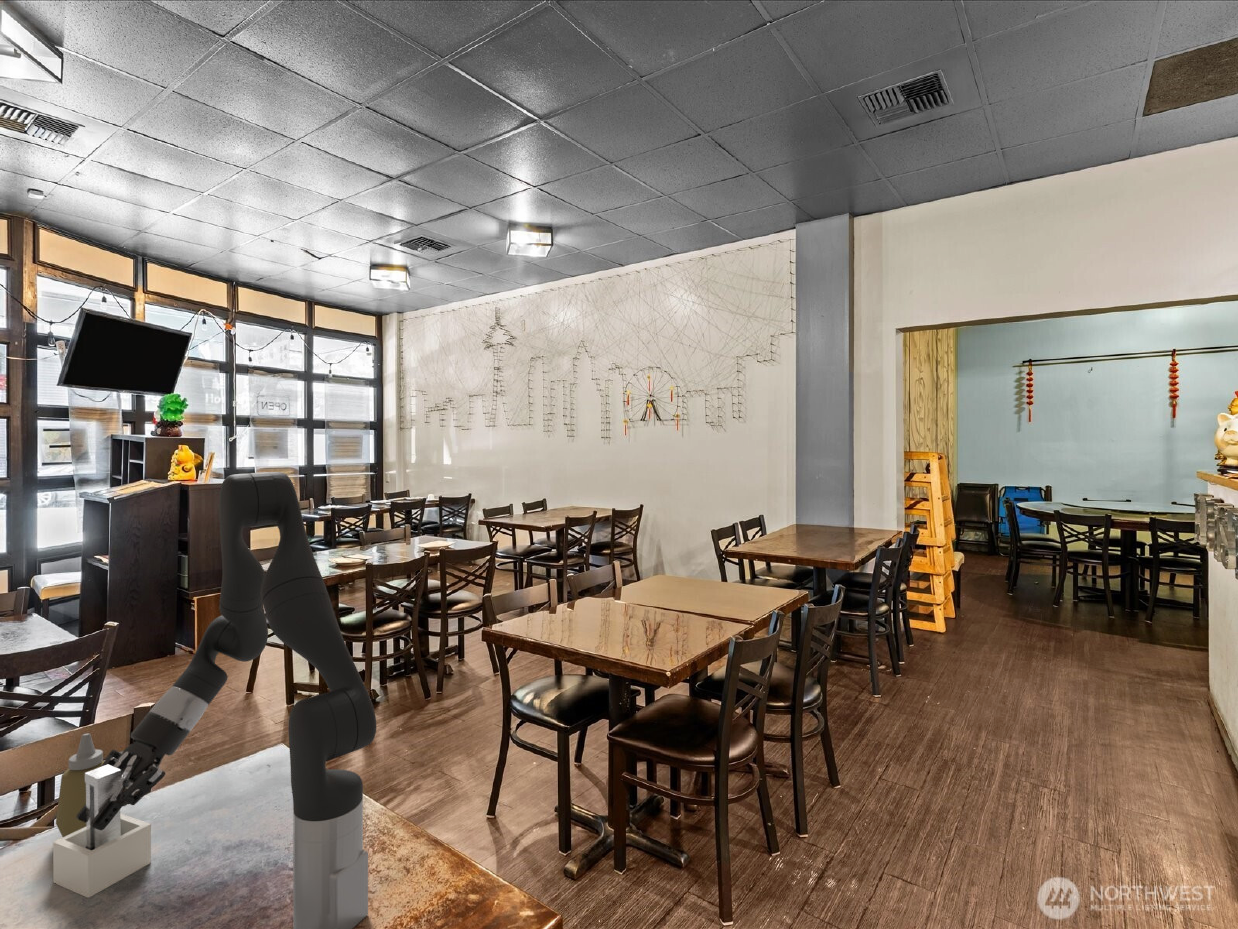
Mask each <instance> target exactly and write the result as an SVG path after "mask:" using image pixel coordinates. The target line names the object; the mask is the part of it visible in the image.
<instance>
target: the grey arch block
mask: <svg viewBox="0 0 1238 929" xmlns="http://www.w3.org/2000/svg"><path fill="white" fill-rule="evenodd" d="M120 779H121V770H120V769H118V768H116V767H113V766H111V765H109V764H107V765H105V766H102V767H99V768H97V769H94V770H91V771H89V772H86V773H85V783H86V820H87V823H86V834H87V846H86V849H89V850H94V849H96V848H98V847H100V846H102V845H104V844H106V843H108V842H110V841H112V840H114V839H116V838H118V837H119V836H121V820H120V813H121V809H120V810H119V811H118V813H117V814H116V815H115V816H114V817H113V819H112V820H111V822H110V823H109V824H108V825H107V826H106V827H105V829H103V830H98V829H95V828H93V827H91V826H90V823H91V822H92V820H93V819H94V818H95V817H96V815H97V814H98V813H99V812H100V811H101V809H102V808H103V807H104V806H105V804H106V803H107V802H108V801H110V799H111V797H112V795H113V794H114V792H115V791H116V789H117V788H118V787H119V785H118V783H119V781H120ZM110 802H111V801H110Z"/></svg>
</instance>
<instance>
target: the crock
mask: <svg viewBox="0 0 1238 929" xmlns="http://www.w3.org/2000/svg"><path fill="white" fill-rule="evenodd" d="M120 820H121V836H119V837H118V838H116V839H114V840H112V841H110V842H108V843H106V844H104V845H102V846H100V847H98V848H96V849H94V850H89V849H86V846H87V834H86V827H84V828H82V829H80V830H78V831H76V832H73V833H71V834H69V835H67V836H65V837H62V838H59V839H56V840H54V841H53V842H52V843H53V844H52V847H53V848H52V850H53V852H52V853H53V854H52V855H53V858H52V859H53V862H52V863H53V864H52V865H53V866H52V867H53V869H52V870H53V876H52V877H53V883H54V884H55V883H56V884H55V885H58V886H60V887H62V888H64V889H67V890H69V891H71V892H74V893H76V894H78V895H81V896H83V897H85V898H88V899H89V898H91V897H92V896H95V895H96V894H98V893H100V892H101V891H103V890H105V889H107V888H109V887H111V886H113V885H114V884H116V883H118V882H119V881H121V880H123V879H125V878H126V877H128V876H130V875H132V874H134V873H135V872H137V871H139V870H141V869H143V868H144V867H146V866H147V865H149V864H151V863H152V824H151V823H149V822H147V821H143V820H141V819H138V818H135V817H132V816H129V815H126V814H123V813H121V812H120Z"/></svg>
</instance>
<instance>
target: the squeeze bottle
mask: <svg viewBox="0 0 1238 929" xmlns="http://www.w3.org/2000/svg"><path fill="white" fill-rule="evenodd" d="M104 761H105V760H104V751H103V750H102V749H98V748H97V749H96V748H95V746H94V742H93V739H92V735H91V733H84V734H82V735H81V737H80V741H79V745H78V749H77V751H76V754H73V755H71V756H70V757H69V759H68V768H67V769H66V770H65V771H64V772H63V773H62V775H61V779H60V788H59V793H58V794H59V796H58V802H57V811H56V817H55V818H56V819H55V824H56V827H57V828H58V831H59V832H60V834H61V837H62V838H63V837H65V836H67V835H69V834H71V833H73V832H76V831H78V830H80V829H82V828H84V827H86V822H83V821H81V820H78V819H77V818H76V816H77V814H78V813H79V812H80V810H81V809H82V808H83V807H84V805H85V804H86V783H85V773H86V772H89V771H91V770H94V769H97V768H99V767H101V766H102V765H103V763H104Z"/></svg>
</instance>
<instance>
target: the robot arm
mask: <svg viewBox="0 0 1238 929" xmlns="http://www.w3.org/2000/svg"><path fill="white" fill-rule="evenodd" d="M298 498H299V497H298V496H297V491H296V488H295V486H294V484H293V481H292V479H291V478H290V477H289V475H287V473H285V472H281V471H277V472H276V471H274V472H273V471H272V472H271V471H267V472H249V473H238V474H237V473H236V474H231V475H227V477H225V478H224V479H223V481H222V484H221V488H220V491H219V503H218V504H219V506H218V508H219V523H220V524H219V526H220V528H219V530H220V532H219V533H220V534H219V536H220V546H221V547H220V548H221V549H220V551H221V561H222V563H221V564H222V577H221V578H222V579H221V586H220V594H219V605H218V606H219V613H220V614H221V615H219V616H218V617H216V618H215V619H213V620H212V621H211V622H210V623H209V625H208V626H207V627H206V629H205V632H204V634H203V636H202V639H200V643H199V645H198V647H197V650H195V653H194V655H193V657H192V659H191V661H190V662H189V664H188V666H187V667H186V669H185V670H184V671H183V672H182V673H181V675H179V677H178V678H177V680H176V681H175V682H174V683H173V684H172V686H171V687H170V688H169V689H168V690H167V691H166V692H164V694H162V696H161V697H160V698H159V699H158V701H157V702H156V703H155V704H154V705H153V706H152V707H151V709H150V710H149V712H148V713H146V714H145V716H144V717H143V719H142V720H141V721H140V722H139V723H138V725H137V726H136V727H135V729H134V730H133V731H131V733H130V738H131V739H132V740H133V741H132V743H131V744H130V745H128V746H127V747H125V749H124V750H122V751H118V750H116V749H112V750H110V752H109V753H108V755H107V757H106V758H105V760H103V761H104V763H103V765H102V766H105V765H107V764H109V765H111V766H113V767H116V768H118V769H120V770H121V779H120V781H119V783H118V785H119V787H118V788H117V789H116V791H115V792H114V794H113V795H112V797H111V799H110V801H111V802H110V801H108V802H107V803H106V804H105V806H104V807H103V808H102V809H101V811H100V812H99V813H98V814H97V815H96V817H95V818H94V819H93V820H92V822H91V823H90V826H91V827H93V828H95V829H98V830H103V829H105V827H106V826H107V825H108V824H109V823H110V822H111V820H112V819H113V817H114V816H115V815H116V814H117V813H118V811H119V810H120V811H121V808H123V807H126V806H127V805H131V806H135V805H136V804H137V803H138V802H139V801H140V800H141V799H142V798H144V797H145V795H147V794H148V793H149V792H150V790H152V789H153V788H154V787H155V786H156V785H157V784H158V783H159V782H160V781H162V779H163V778H165V776H166V771H164V770H162V769H161V768H160V765H161V763H162V762H163V761H162V760H163V759H164V757H165V756H173V755H174V753H176V751H177V750H178V749H179V747H180V746H181V744H182V743H183V742H184V740H186V738H187V737H188V735H189V734H190V733H191V731H192V730H193V728H195V726H196V725H197V724H198V722H199V721H200V719H201V718H202V717H203V715H204V713H205V711H206V710H207V708H208V707H209V705H210V704H211V703H212V701H213V700H214V699H215V697H216V696H217V695H218V694H219V692H220V691H221V690H222V688H223V687H224V686H225V684H226V682H227V681H228V678H229V677H228V674H227V672H226V671H225V669H223V668H222V667H220V666H219V665H218V664H216V659H217V656H218V654H219V653H221V654H223V655H224V656H227V657H229V658H232V659H234V660H235V661H239V662H244V663H245V662H250V661H253V660H255V659H257V658H258V657H259V656H260V655H261V654H262V653H263V651H264V649H265V648H266V645H267V643H268V639H269V628H270V630H271V632H272V633H273V634H274V635H275V636H276V637H277V638H278V639H279V641H281V643H283V644H284V645H286V646H287V647H289V648H290V649H291V650H293V651H294V652H295V653H296V654H298V655H299V656H301V657H302V658H303V659H305V660H306V661H308V663H310V664H311V665H312V666H313V667H314V668H315V669H316V670H317V671H318V672H319V674H320V676H321V677H322V678H323V680H324V682H325V683H326V686H327V687H328V689H329V691H328V692H324V693H321V694H317V695H314V696H309V697H307V698H304V699H301V700H299V701H297V702H296V703H295V704H294V705H293V706H292V708H291V710H290V713H289V717H288V728H287V729H288V731H287V732H288V744H289V745H288V746H289V759H290V761H289V763H290V765H289V767H290V786H291V794H292V802H293V803H292V806H293V807H292V808H293V809H292V810H293V815H292V816H293V820H292V821H293V823H292V825H293V828H292V829H293V833H292V838H293V839H292V840H293V841H292V842H293V843H292V846H293V847H292V850H293V851H292V852H293V853H292V854H293V855H292V857H293V859H292V866H293V867H292V868H293V869H292V877H293V878H292V887H293V888H292V906H293V909H292V912H293V913H292V923H293V924H292V925H293V926H292V929H354V928H355V927H356V926H357V925H358V924H359V923H360V922H361V921H363V920H364V919H365V918H366V917H367V916H368V915H369V853H368V851H367V850H364V849H363V846H364V845H363V842H364V841H363V839H364V837H363V836H364V835H363V834H364V833H363V832H364V830H363V826H364V823H363V820H364V818H363V817H364V814H363V812H364V809H363V808H364V799H363V798H364V784H363V780H362V777H361V776H360V775H359V774H358V773H357V772H354V771H351V770H347V769H340V768H339V769H328V768H327V767H326V764H327V763H326V762H329V761H331V760H334V759H337V758H341V757H343V756H345V755H347V754H348V755H349V754H351V753H353V752H356V751H359V750H361V749H363V748H366V747H367V746H369V745H370V744H372V742H373V741H374V739H375V737H376V734H377V717H376V712H375V709H374V704H373V701H372V699H371V697H370V694H369V691H368V690H367V687H366V686H365V683H364V681H363V679H362V677H361V675H360V673H359V671H358V668H357V666H356V664H355V661H354V660H353V658H352V656H351V654H350V651H349V649H348V647H347V644H346V642H345V639H344V637H343V634H342V632H341V628H340V625H339V623H338V620H337V617H336V614H335V611H334V608H333V604H332V600H331V597H330V595H329V592H328V590H327V586H326V584H325V581H324V579H323V576H322V574H321V570H320V568H319V565H318V563H317V561H316V558H315V556H314V553H313V550H312V547H311V544H310V542H309V541H310V540H309V538H308V534H307V530H306V526H305V523H304V520H303V519H304V518H303V514H302V510H301V506H300V503H299V499H298ZM269 525H275V526H277V528H278V531H279V542H278V545H277V549H276V551H275V554H274V555H273V558H272V560H271V562H270V563H269V566H268V568H267V569H266V572H265V570H264V567H263V565H262V564H261V562H260V561H259V559H257V557H256V556H255V555H254V553H253V552H252V551H251V549H250V548H249V547H248V545H247V543H246V542H245V540H244V536H243V530H244V528H250V527H257V526H269ZM267 621H268V622H267ZM268 625H269V627H268ZM102 766H101V767H102ZM125 789H126V790H125ZM136 792H137V793H136ZM134 794H135V795H134ZM76 818H77V819H78V820H81V821H83V822H86V823H87V820H86V804H85V805H84V807H83V808H82V809H81V810H80V812H79V813H78V814H77V816H76Z"/></svg>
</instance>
